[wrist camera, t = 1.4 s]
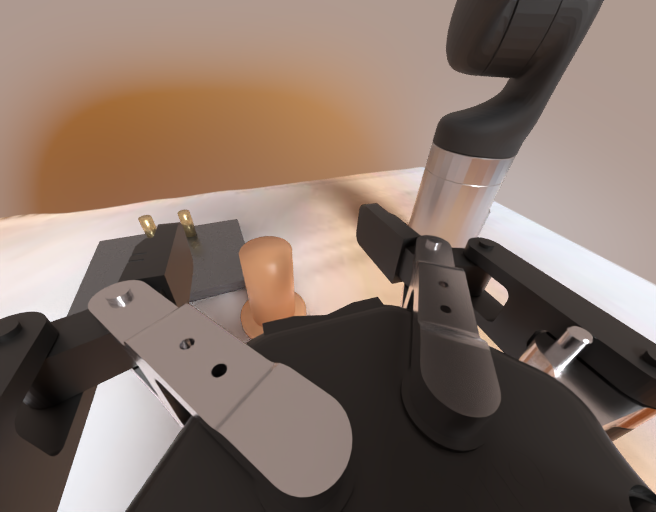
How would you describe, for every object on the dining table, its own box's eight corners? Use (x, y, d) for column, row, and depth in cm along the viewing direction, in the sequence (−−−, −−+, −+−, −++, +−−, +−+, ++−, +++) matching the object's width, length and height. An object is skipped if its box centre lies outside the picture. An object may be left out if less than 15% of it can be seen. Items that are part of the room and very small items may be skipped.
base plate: (238, 226, 46) (233, 198, 42) (256, 284, 34) (250, 253, 31) (104, 249, 39) (85, 218, 35) (72, 331, 27) (38, 297, 24)
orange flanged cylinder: (295, 286, 34) (291, 224, 28) (315, 330, 29) (316, 265, 23) (237, 302, 32) (220, 237, 26) (248, 353, 26) (229, 287, 20)
